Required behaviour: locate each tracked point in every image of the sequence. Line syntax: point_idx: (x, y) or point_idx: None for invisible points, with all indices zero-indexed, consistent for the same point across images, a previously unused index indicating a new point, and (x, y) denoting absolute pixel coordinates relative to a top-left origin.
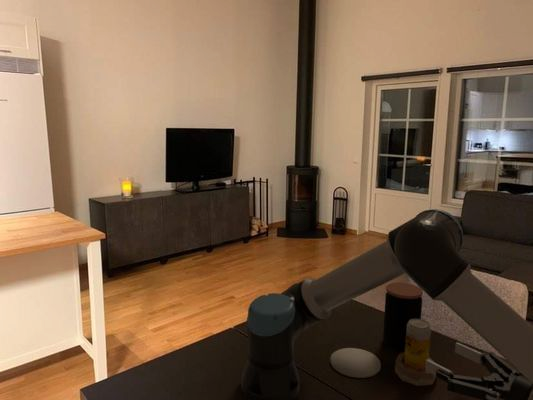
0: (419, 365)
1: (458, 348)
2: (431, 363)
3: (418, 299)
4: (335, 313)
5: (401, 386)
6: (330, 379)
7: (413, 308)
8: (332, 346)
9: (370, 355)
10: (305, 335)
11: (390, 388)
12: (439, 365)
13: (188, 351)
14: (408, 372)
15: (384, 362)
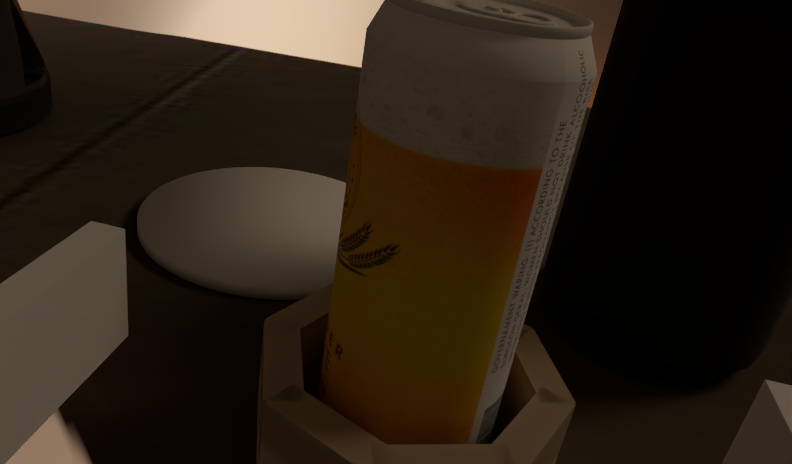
0: (342, 362)
1: (753, 456)
2: (42, 258)
3: None
4: (578, 151)
5: (183, 407)
6: (71, 193)
7: (731, 49)
8: (343, 170)
9: None
10: (346, 123)
11: (122, 367)
12: (9, 308)
13: (55, 19)
14: (262, 358)
15: None
